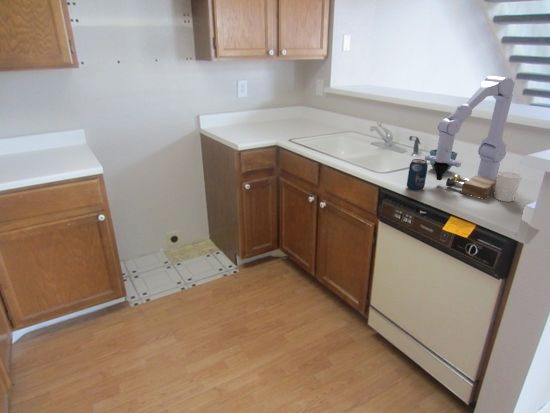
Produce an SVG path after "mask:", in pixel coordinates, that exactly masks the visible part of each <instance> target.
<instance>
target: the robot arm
mask: <svg viewBox="0 0 550 413" xmlns="http://www.w3.org/2000/svg"><path fill="white" fill-rule="evenodd" d="M514 88H515V81H514V79H512V78H511V77H509V76H508V77H504V76H495V75H488V76H486V77H485V78H484V80H482V82H480V86H479V88H478V89H477V90H476V91H475V93H474V94H473V95H472V96H471V97H470V98H469V99H468V100H467V102H466V103H464V104H459V105H458V106H457V107H456V109H455V110H453V111H452V113H451V114H450V115H449V116H448V117H447V118H446V117H445V118H443V119H442V120H440V121H439V124H437V131H438V143H437V146H436V147H437V148H436V149H437V153H436V156H430V154H429V155H428V154H427V155H425V156H424V160H425V161H427V162H428V161H429V162H430V161H433V162H435V164H433V166H434V168H435V169H434V171H435V176H436V180H437V181H441V180H442V179H443V177H444V174H445V173H446V172H447V171H448V170H447V169H448V167H449V166H450V165H452V167H456V168H460V167H461V166H462V161H459V160H456V159H455V160H453V159H450V158H451V153H452V151H453V147H454V143H455V142H454V141H455V136H456V134H457V133H459V132H460V130H461V127H462V125H463V123H464V122H465V121H466V120H467V119H468V118H469V117H470V116H471V115H472V113H473V110H474V109H475V108H476V107H477V106H478V105H479V104H480V103H481V102H483V101H484V100H486V98H488V97H493V98H494V99H495V103H494V107H493V112H492V116H491V120H490V124H489V130H488V134H487V136H486V137H485V138H483V139H482V141H481V143H480V145H479V147H478V150H477V153H478V155H479V159H480V161H479V165H478V170H477V173H476V176H480V177H484V178H488V179H493V180H497V176H498V172H499V169H500V166H501V164H500V163H501V161H502V160H503V159H504V158H505V157H506V153H507V150H506V148H507V144H506V142H505V141H504V139H503V135H504V131H505V127H506V125H507V124H506V123H507V119H508V116H509V111H510V107H511V104H512V100H513V92H514ZM446 170H447V171H446Z"/></svg>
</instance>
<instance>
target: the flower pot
mask: <svg viewBox="0 0 550 413" xmlns="http://www.w3.org/2000/svg"><path fill="white" fill-rule="evenodd" d="M436 153H437V148H436V149H431V150H430V151H429V155H430V156H436ZM457 156H458V152H456V151H453V150H452V153H451V158H450V159H453V160H456V159H457ZM429 162H430V166H431V168H432V169H434V170H435V168H434V166H433V164H435V162H433V161H429ZM452 167H453V166H452V165H450V166H449V167H448V169H447V170H446V171H445V172H447V171H449V170H450V169H451V168H452Z"/></svg>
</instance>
